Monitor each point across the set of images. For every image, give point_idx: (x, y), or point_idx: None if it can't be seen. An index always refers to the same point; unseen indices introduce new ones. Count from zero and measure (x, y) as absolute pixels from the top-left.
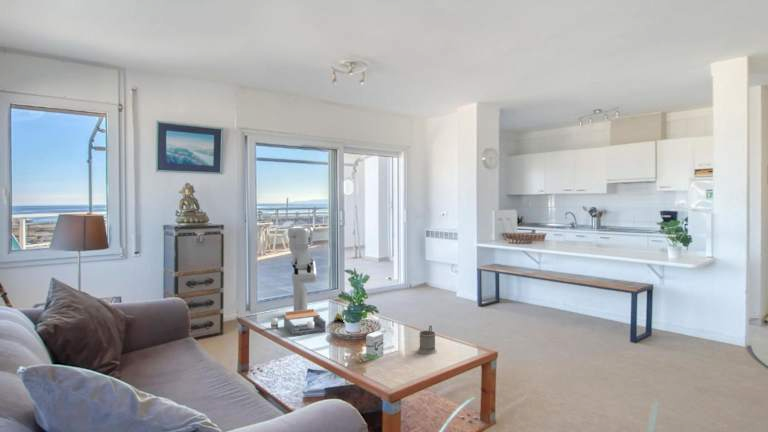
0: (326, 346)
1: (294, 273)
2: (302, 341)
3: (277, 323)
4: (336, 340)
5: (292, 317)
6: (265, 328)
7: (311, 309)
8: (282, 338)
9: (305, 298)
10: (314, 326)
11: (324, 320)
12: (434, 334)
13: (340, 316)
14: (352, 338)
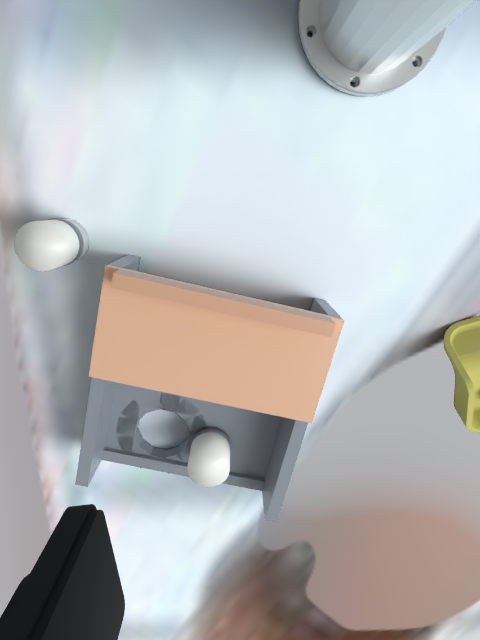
0: (166, 630)
1: (63, 516)
2: (109, 530)
3: (69, 262)
4: (240, 598)
5: (131, 367)
6: (15, 207)
7: (314, 330)
8: (43, 441)
9: (455, 13)
10: (254, 412)
11: (280, 507)
12: None
13: (463, 400)
14: (309, 615)
